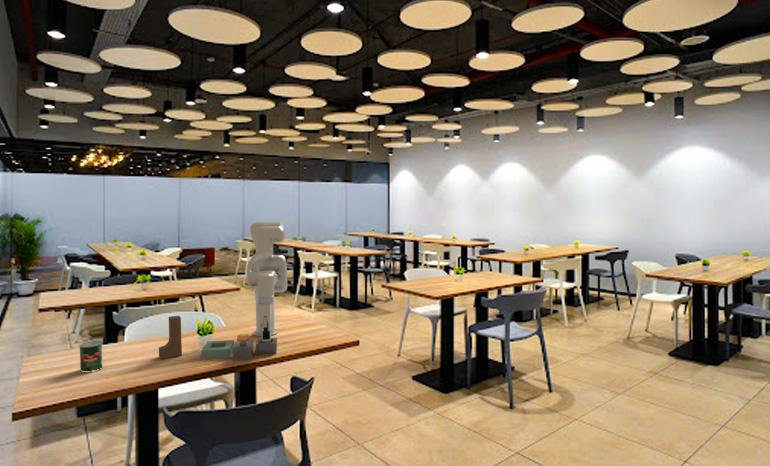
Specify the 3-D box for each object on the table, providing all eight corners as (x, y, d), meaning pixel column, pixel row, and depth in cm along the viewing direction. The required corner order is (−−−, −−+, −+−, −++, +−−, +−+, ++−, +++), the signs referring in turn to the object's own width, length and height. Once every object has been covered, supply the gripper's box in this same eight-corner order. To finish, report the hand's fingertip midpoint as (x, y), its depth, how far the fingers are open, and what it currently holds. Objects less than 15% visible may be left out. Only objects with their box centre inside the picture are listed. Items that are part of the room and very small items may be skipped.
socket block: (257, 348, 220) (257, 338, 220) (277, 347, 222) (276, 337, 221) (256, 355, 211) (255, 344, 211) (276, 353, 213) (275, 343, 212)
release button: (238, 353, 211) (237, 334, 210) (249, 352, 212) (249, 333, 211) (236, 357, 206) (236, 337, 205) (248, 356, 207) (247, 336, 206)
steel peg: (262, 349, 218) (262, 324, 217) (271, 349, 219) (271, 324, 218) (262, 352, 214) (261, 327, 213) (270, 351, 215) (270, 326, 214)
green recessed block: (208, 349, 219) (207, 341, 219) (234, 348, 221) (233, 339, 221) (201, 359, 206) (201, 350, 205) (229, 357, 208) (229, 348, 207)
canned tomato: (86, 374, 188) (85, 348, 187) (76, 370, 192) (75, 344, 191) (106, 368, 194) (105, 343, 194) (96, 364, 198) (95, 340, 198)
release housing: (235, 354, 212) (235, 341, 212) (253, 353, 213) (253, 340, 213) (232, 360, 204) (232, 347, 204) (251, 359, 206) (251, 346, 205)
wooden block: (160, 359, 205) (159, 319, 204) (158, 356, 209) (157, 317, 208) (182, 355, 211) (180, 317, 209) (180, 353, 214) (178, 315, 213)
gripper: (259, 296, 222) (260, 333, 224) (255, 303, 206) (256, 343, 207) (275, 295, 224) (275, 332, 225) (273, 303, 207) (273, 342, 209)
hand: (266, 337), depth 216 cm, fingers closed on steel peg, 4 cm apart
